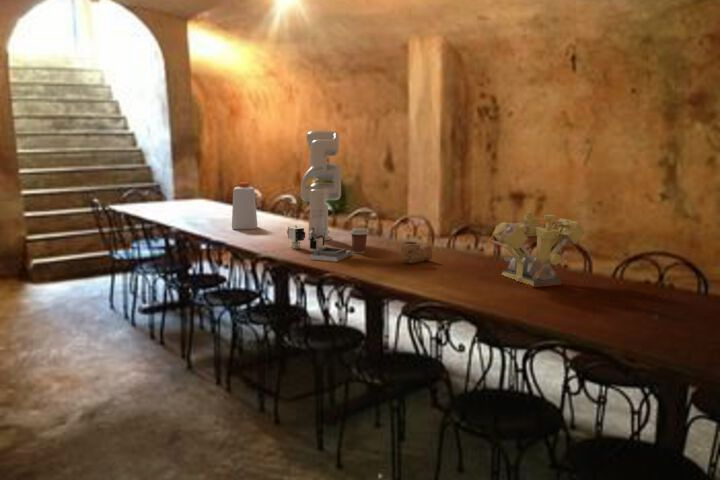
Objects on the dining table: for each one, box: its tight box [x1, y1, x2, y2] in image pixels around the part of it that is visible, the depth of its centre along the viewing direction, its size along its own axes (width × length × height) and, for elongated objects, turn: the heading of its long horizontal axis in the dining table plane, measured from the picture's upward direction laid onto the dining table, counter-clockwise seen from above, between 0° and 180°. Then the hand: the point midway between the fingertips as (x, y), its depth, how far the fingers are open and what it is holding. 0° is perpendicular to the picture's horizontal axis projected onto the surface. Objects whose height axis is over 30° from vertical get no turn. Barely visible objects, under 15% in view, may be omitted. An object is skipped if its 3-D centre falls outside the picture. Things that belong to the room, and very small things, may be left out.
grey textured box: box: [400, 240, 433, 265], centre depth 287 cm, size 9×16×10 cm, turn 132°
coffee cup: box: [349, 227, 369, 254], centre depth 309 cm, size 9×9×12 cm
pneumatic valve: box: [286, 224, 306, 250], centre depth 317 cm, size 6×12×12 cm, turn 33°
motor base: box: [309, 246, 352, 263], centre depth 297 cm, size 18×14×4 cm
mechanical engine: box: [488, 207, 586, 286], centre depth 252 cm, size 39×37×30 cm
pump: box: [311, 236, 324, 253], centre depth 310 cm, size 6×6×8 cm
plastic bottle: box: [231, 181, 258, 231], centre depth 376 cm, size 15×15×28 cm
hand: (317, 247), depth 310 cm, fingers open, 9 cm apart
